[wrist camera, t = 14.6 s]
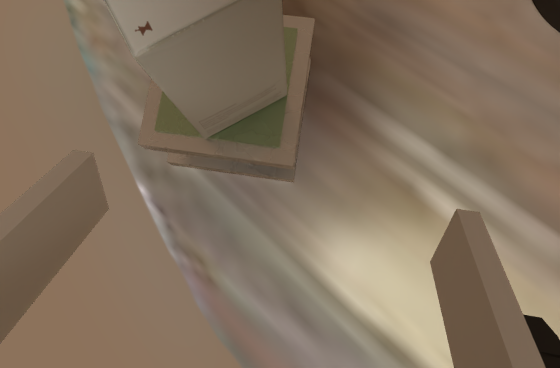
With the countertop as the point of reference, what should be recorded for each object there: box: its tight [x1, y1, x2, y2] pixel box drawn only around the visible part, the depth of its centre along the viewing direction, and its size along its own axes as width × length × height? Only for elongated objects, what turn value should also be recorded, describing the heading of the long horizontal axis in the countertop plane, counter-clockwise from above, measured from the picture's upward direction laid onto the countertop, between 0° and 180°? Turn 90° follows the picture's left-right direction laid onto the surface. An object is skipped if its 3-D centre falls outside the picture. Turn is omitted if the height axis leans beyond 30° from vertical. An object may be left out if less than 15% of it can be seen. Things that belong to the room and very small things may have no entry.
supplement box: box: [104, 0, 287, 139], centre depth 22 cm, size 7×7×13 cm
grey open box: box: [138, 15, 315, 182], centre depth 32 cm, size 12×12×8 cm
